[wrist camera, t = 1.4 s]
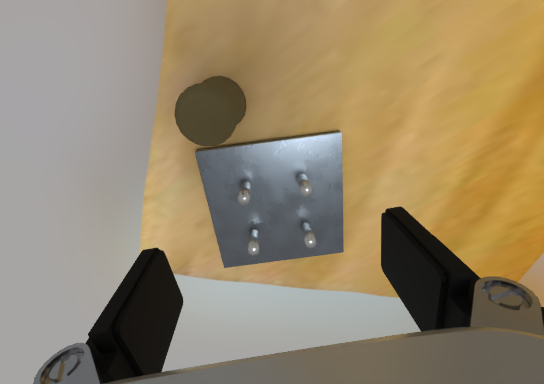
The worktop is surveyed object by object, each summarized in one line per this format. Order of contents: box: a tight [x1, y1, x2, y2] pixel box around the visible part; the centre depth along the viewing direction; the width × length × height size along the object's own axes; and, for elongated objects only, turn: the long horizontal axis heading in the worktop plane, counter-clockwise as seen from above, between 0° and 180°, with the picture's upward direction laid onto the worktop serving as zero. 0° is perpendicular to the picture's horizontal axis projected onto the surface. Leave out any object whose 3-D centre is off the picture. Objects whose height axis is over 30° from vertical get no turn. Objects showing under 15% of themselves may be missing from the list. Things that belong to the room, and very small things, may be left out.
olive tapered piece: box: [175, 76, 246, 146], centre depth 26 cm, size 6×6×11 cm
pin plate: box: [195, 131, 343, 268], centre depth 35 cm, size 18×18×5 cm
